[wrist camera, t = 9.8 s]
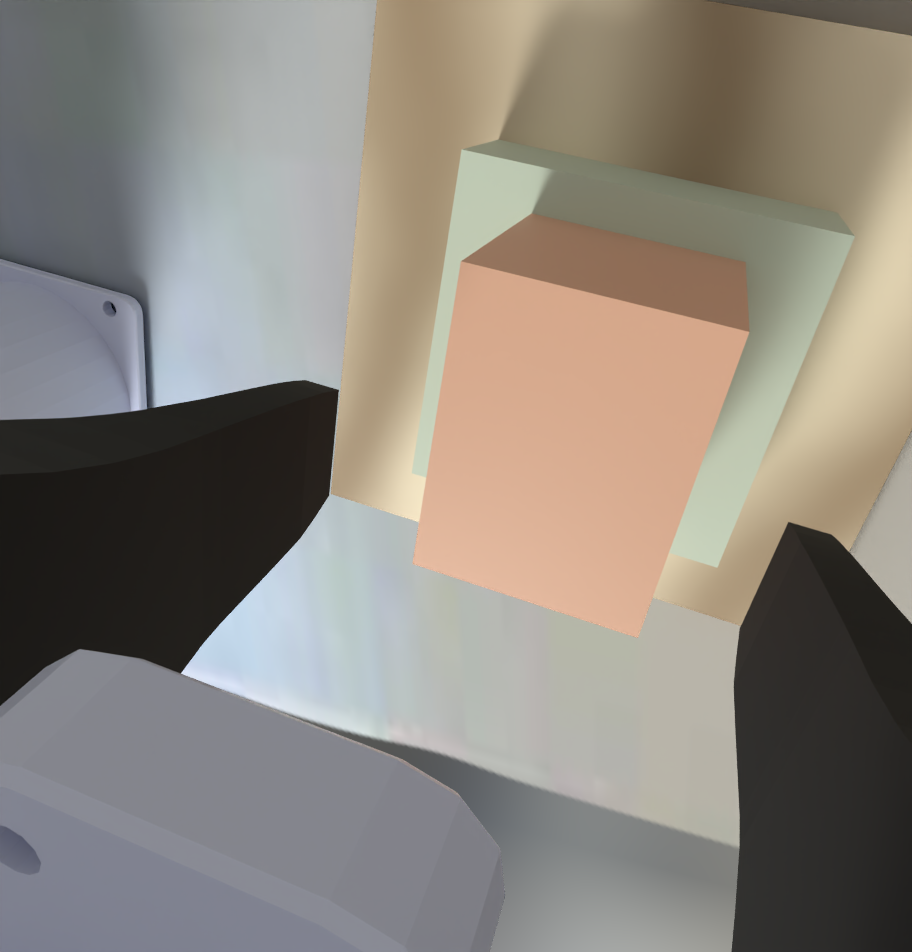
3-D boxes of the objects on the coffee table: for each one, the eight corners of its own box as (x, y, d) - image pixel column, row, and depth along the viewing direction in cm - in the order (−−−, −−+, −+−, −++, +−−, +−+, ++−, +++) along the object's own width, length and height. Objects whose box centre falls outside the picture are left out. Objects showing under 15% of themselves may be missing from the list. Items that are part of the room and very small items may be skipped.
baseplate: (344, 480, 26) (330, 493, 25) (398, -49, 19) (382, -55, 18) (798, 624, 23) (800, 645, 22) (1079, 67, 16) (1098, 67, 15)
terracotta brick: (482, 457, 19) (412, 563, 15) (531, 213, 16) (461, 261, 12) (660, 509, 19) (637, 638, 14) (745, 262, 16) (750, 331, 11)
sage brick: (447, 428, 23) (411, 473, 20) (498, 139, 19) (461, 149, 16) (719, 509, 21) (717, 567, 19) (837, 212, 17) (855, 236, 15)
